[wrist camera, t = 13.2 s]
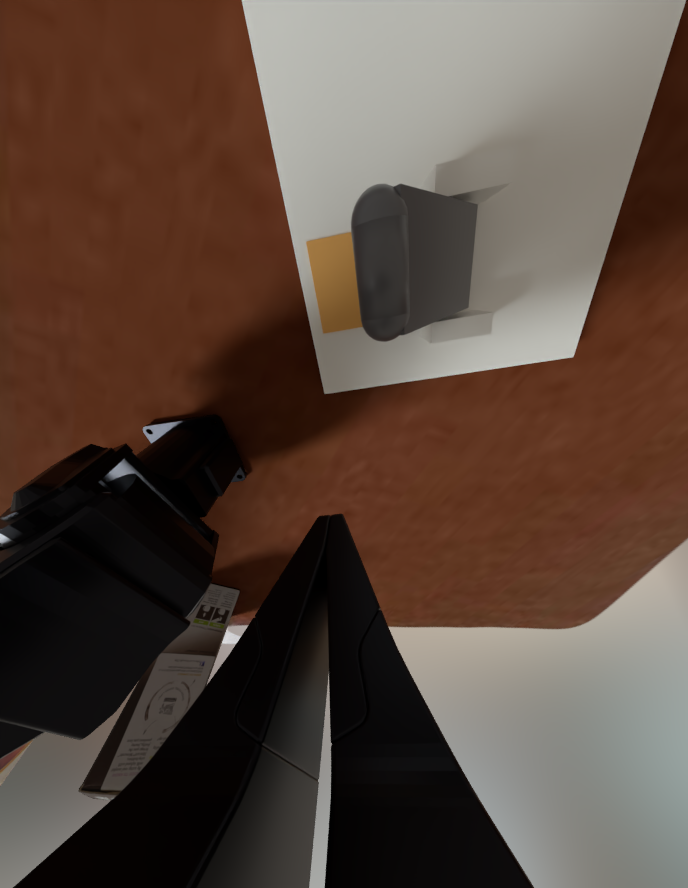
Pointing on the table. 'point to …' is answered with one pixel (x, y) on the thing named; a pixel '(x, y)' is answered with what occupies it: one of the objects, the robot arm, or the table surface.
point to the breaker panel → (459, 157)
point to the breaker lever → (411, 258)
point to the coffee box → (162, 696)
